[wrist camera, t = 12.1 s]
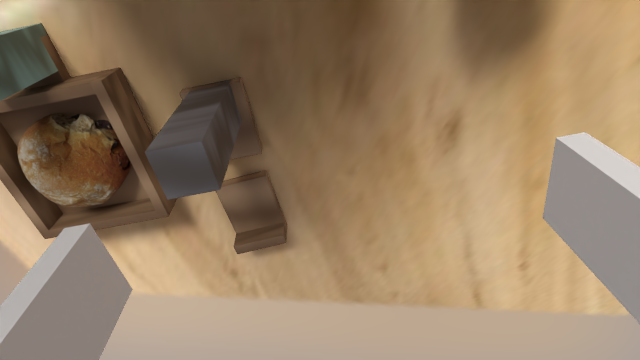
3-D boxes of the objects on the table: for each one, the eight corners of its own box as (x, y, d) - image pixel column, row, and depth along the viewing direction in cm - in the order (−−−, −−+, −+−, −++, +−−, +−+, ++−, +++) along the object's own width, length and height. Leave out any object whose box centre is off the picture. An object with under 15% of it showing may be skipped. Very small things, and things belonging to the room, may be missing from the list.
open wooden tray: (-53, 43, 34) (-239, 94, 22) (94, 11, 34) (-17, 47, 22) (64, 215, 45) (-19, 313, 33) (178, 194, 44) (135, 286, 32)
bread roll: (45, 118, 42) (-20, 165, 37) (82, 83, 36) (9, 134, 31) (117, 180, 46) (68, 230, 41) (160, 159, 40) (109, 214, 35)
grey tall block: (182, 89, 38) (130, 154, 26) (241, 77, 37) (215, 138, 25) (209, 158, 42) (175, 242, 30) (262, 148, 41) (248, 229, 30)
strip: (216, 183, 43) (210, 200, 40) (266, 170, 43) (263, 187, 40) (241, 234, 48) (237, 254, 45) (286, 223, 47) (286, 242, 44)
